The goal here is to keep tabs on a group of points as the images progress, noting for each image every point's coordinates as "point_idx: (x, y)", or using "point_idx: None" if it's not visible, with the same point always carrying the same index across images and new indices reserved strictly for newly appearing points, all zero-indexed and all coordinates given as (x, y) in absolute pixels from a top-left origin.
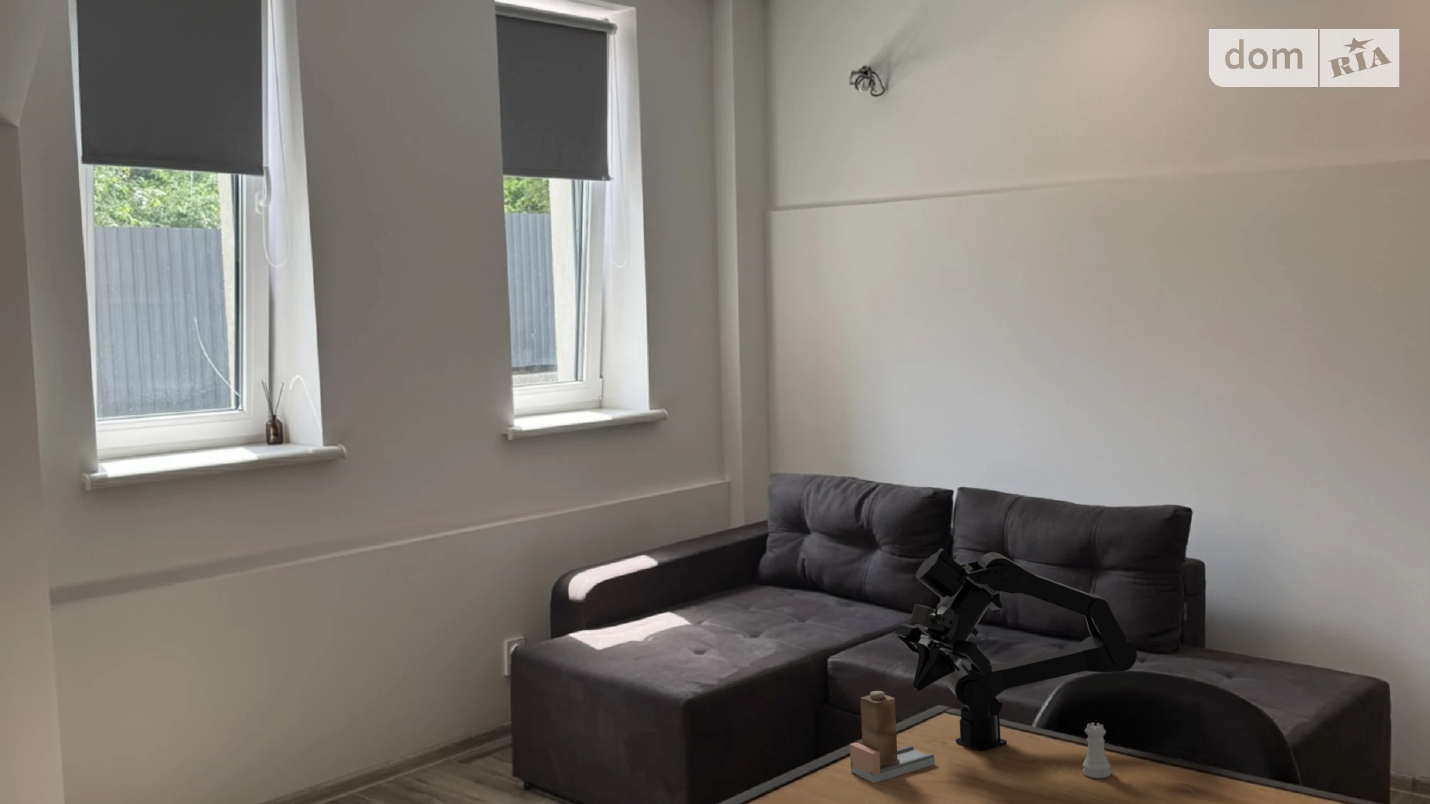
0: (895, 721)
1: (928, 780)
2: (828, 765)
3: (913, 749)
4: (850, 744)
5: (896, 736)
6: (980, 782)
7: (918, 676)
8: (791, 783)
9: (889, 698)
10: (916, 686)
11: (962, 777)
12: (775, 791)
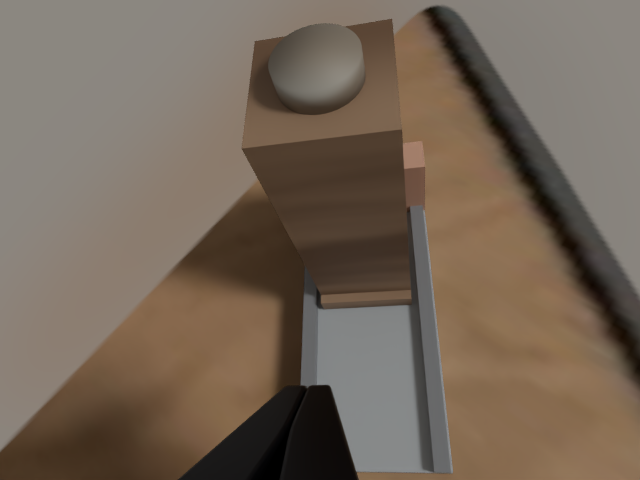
0: (282, 221)
1: (219, 347)
2: (519, 177)
3: (430, 469)
4: (417, 142)
5: (301, 257)
6: (85, 476)
7: (287, 448)
8: (445, 58)
9: (262, 124)
10: (281, 391)
11: (154, 459)
12: (421, 20)
